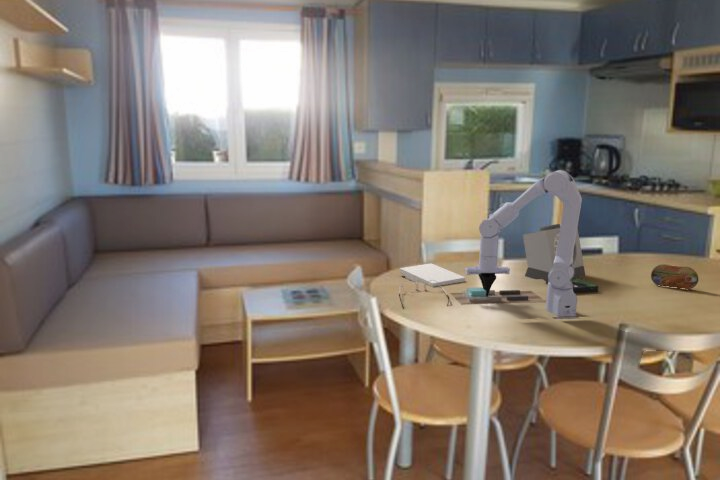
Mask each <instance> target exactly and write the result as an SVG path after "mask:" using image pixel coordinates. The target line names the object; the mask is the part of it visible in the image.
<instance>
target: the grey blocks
mask: <svg viewBox="0 0 720 480" xmlns="http://www.w3.org/2000/svg"><path fill="white" fill-rule="evenodd" d="M520 291H521V290H520V289H511V290H509V289H508V290H507V289H506V290H499V291H498V292H499V294H500V295H513V294H520ZM507 300H508V301H512V300H528V296H507Z"/></svg>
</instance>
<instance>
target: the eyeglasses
mask: <svg viewBox="0 0 720 480" xmlns="http://www.w3.org/2000/svg"><path fill="white" fill-rule="evenodd" d="M406 281H411V279H406V280H405V282H406ZM430 281H431V280H430ZM434 281H435V280H434ZM405 282H403V283H402V284H400V285H399V288H402V289H403V291H405V289H404V284H405ZM428 282H429V281H428ZM428 282H427V283H428ZM436 282H437V281H436ZM414 283H416V284H415V287H416V288H415V289H414V290H415V291H417V290H418V289H419V284H420V283H422V284H423V290H425V291H427V289H426V288H427V283H426V284H425V283H423V282H415V281H414ZM437 283H438V282H437ZM438 284H439V283H438ZM440 289H442V290H443V292H444V293H445V295H446V297H447V298H448V299H447V300H448V301H447V304H446V307H448V306H449V302H450V296H449V294H447V291H446V290H445V289H444V287H443V286H442V285H440V286H438V291H439V290H440ZM438 291H437V292H438ZM398 292H399V294H398V297H399V300H400V303H401V306H402V309H403V310H405V306H404V305H403V302H402V299H401V298H402V297H401V291H398ZM405 293H407V294H408V292H407V291H405ZM412 293H413V292H411V294H412Z"/></svg>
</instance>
